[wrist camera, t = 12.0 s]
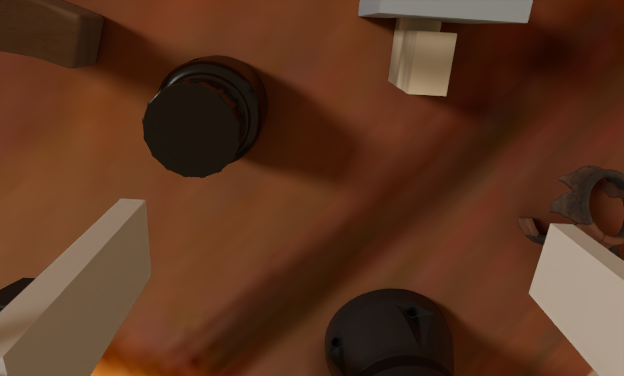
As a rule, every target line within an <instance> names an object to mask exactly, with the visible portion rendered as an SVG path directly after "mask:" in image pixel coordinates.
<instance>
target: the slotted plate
mask: <svg viewBox="0 0 624 376" xmlns="http://www.w3.org/2000/svg"><path fill="white" fill-rule="evenodd" d="M532 2H533V0H360V3H359V14H358V16H361V17H376V18H395V17H397V18H411V19H426V20H440V21H442V22H448V23H463V24H490V23H528V19H529V15H530V11H531V7H532Z"/></svg>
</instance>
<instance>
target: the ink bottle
mask: <svg viewBox="0 0 624 376" xmlns="http://www.w3.org/2000/svg"><path fill="white" fill-rule="evenodd" d="M147 106H148V107H147V109H146V112H145V115H144V117H143V119H142V123H143V130H144V140H145V142H146V143H147V145H148V147H149V149H150V151H151V154H152V156H153V157H154V158H156V159H157V160H158V161H159V162H160V163H161V164H162V165H163V166H164V167H165V168H166V169H167V170H171V171H173V172H175V173H178V174H180V175H182V176H184V177H200V178H204V177H206V176H208V175H211V174H214V173H219V172H220V171H222V169H223V168H224V167H225V166H227V165H228V164H230V163H233V162H235V161H237V160H239V159H241V158H242V157H244V156H245V155H246V154H247V153H248V152H249V151H250V150H251V149H252V148H253V146H254V145H255V143H256V141H257V139H258V137H259V135H260V132H261V130H262V127H263V125H264V122H265V119H266V115H267V108H268V103H267V95H266V91H265V88H264V85H263V83H262V81H261V79H260V78H259V76H258V75H257V74H256V73H255V71H254V70H252V69H251V68H250V67H249V66H248V65H246V64H245V63H243V62H241V61H239V60H237V59H234V58H231V57H227V56H219V55H215V56H207V57H203V58H200V59H199V58H198V59H194V60H192V61H189V62H187V63H185V64H182V65H180V66H179V67H177V68H175V69H174V70H173V71H172V72H170V73H169V74H168V75H167V77H166V78H165V79H164V81H163V82H162V84H161V86H160V88H159V91H158V93H157V95H156V96H155V97H154V98H153V99H152V100H151V101H149V103H148V105H147Z"/></svg>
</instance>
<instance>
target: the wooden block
mask: <svg viewBox="0 0 624 376" xmlns="http://www.w3.org/2000/svg"><path fill="white" fill-rule="evenodd" d="M103 22H104V19H103V17H102V16H101V15H99V14H96V13H94V12H91V11H88V10H86V9H83V8H81V7H78V6H76V5H73V4H70V3H68V2H65V1H63V0H0V51H3V52H9V53H15V54H20V55H25V56H31V57H36V58H39V59H42V60H45V61H48V62H51V63H54V64H58V65H61V66H64V67H67V68H76V67H82V66H87V65H93V64H95V62H96V59H97V53H98V48H99V43H100V38H101V33H102V28H103Z"/></svg>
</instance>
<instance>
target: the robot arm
mask: <svg viewBox="0 0 624 376" xmlns="http://www.w3.org/2000/svg"><path fill="white" fill-rule="evenodd" d="M150 277H151V263H150V250H149V237H148V225H147V212H146V200H135V199H120V200H119V201H118V202H117V203H116V204H115V205H113V206H112V207H111V208H110V209H109V210H108V211H107V212H106V213H105V214H104V215H103V216H102V217H101V218H100V219H99V220H98V221H96V222H95V223H94V224H93V225H92V226H91V227H90V228H89V229H88V230H87V231H86V232H85V233H84V234H83V235H82V236H81V237H79V238H78V239H77V240H76V241H75V242H74V243H73V244H72V245H71V246H70V247H69V248H68V249H67V250H66V251H65V252H63V253H62V254H61V255H60V256H59V257H58V258H57V259H56V260H55V261H54V262H53V263H52V264H51V265H50V266H49V267H48V268H46V269H45V270H44V271H43V272H42V273H41V274H40V275H39V276H38V277H37V278H22V279H20V280H18V281H16V282H14V283H12V284H10V285H8V286H6V287H5V288H3V289H1V290H0V376H90V375H91V373H92V372H93V370H94V368H95V367H96V365H97V364H98V362H99V360H100V359H101V357H102V355H103V354H104V352H105V350H106V349H107V347H108V346H109V344H110V342H111V341H112V339H113V337H114V336H115V334H116V332H117V331H118V329H119V328H120V326H121V324H122V323H123V321H124V319H125V318H126V316H127V314H128V313H129V311H130V309H131V308H132V306H133V305H134V303H135V301H136V300H137V298H138V296H139V295H140V293H141V291H142V290H143V288H144V287H145V285H146V283H147V282H148V280H149V278H150ZM529 294H530V296H531V297H532V298H533V299H534V300H535V301H536V303H537V304H538V305H539V306H540V307H541V308H542V310H543V311H544V312H545V313H546V314H547V315H548V317H549V318H550V319H551V320H552V321H553V322H554V324H555V325H556V326H557V327H558V328H559V329H560V331H561V332H562V333H563V334H564V335H565V336H566V338H567V339H568V340H569V341H570V342H571V343H572V345H573V346H574V347H575V348H576V349H577V350H578V352H579V353H580V354H581V355H582V356H583V357H584V359H585V360H586V361H587V362H588V363H589V365H590V366H591V367H592V368H593V369H594V370H595V371H596V373H597V374H598V375H599V376H624V261H623V260H621V259H620V258H619V257H617V256H616V255H615V254H613V253H612V252H610V251H609V250H608V249H606V248H605V247H603V246H602V245H601V244H599V243H598V242H597V241H595V240H594V239H592V238H591V237H590V236H588V235H587V234H586V233H584V232H583V231H581V230H580V229H579V228H577V227H576V226H574V225H573V224H555V223H551V224H550V227H549V230H548V233H547V236H546V240H545V243H544V246H543V249H542V253H541V256H540V259H539V262H538V265H537V269H536V272H535V275H534V278H533V282H532V285H531V288H530V291H529ZM325 351H326V361H327V364H328V368H329V370H330V373H331V375H332V376H454V358H453V340H452V335H451V332H450V329H449V327H448V325H447V323H446V321H445V319H444V317H443V315H442V313H441V311H440V310H439V309H438V308H437V307H436V306H435V305H434V304H433V303H432V302H431V301H430V300H428V299H427V298H425V297H423V296H421V295H419V294H417V293H414V292H410V291H406V290H400V289H383V290H376V291H372V292H368V293H365V294H363V295H360V296H358V297H356V298H354V299H353V300H351V301H349V302H348V303H347V304H345V305H344V306H343V307H342V308H341V309H340V310H339V311H338V312H337V313H336V314H335V315H334V317H333V318H332V320H331V321H330V323H329V326H328V328H327V331H326V336H325Z"/></svg>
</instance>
